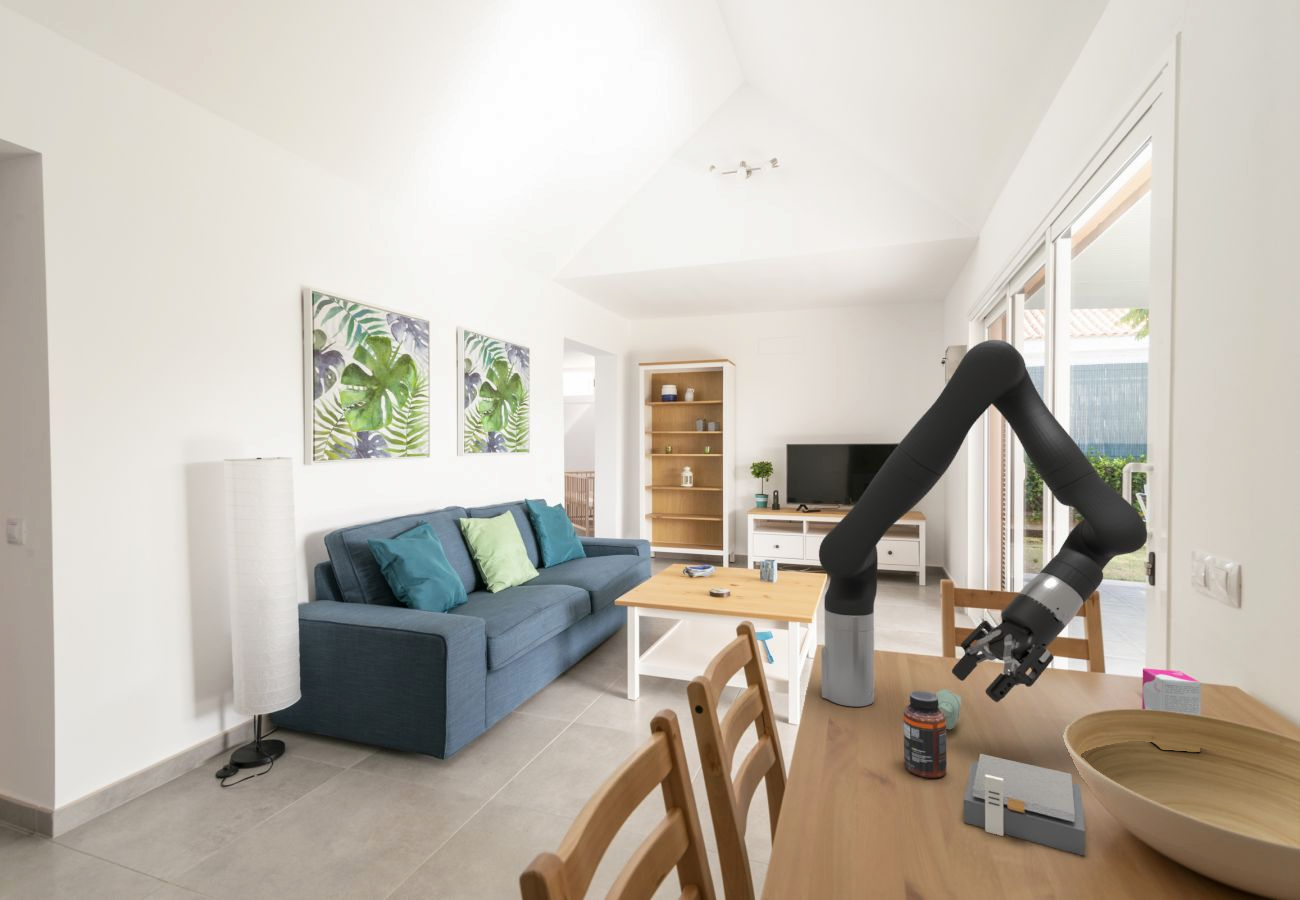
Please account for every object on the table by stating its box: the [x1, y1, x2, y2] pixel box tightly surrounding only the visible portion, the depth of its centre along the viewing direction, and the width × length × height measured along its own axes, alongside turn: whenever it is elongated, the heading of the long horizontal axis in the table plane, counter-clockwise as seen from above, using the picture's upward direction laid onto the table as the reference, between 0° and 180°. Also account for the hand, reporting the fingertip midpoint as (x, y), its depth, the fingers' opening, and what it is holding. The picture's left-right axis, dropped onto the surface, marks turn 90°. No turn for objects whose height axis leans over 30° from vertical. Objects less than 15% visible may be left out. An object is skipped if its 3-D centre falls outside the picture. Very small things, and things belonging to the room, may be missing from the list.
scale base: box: [963, 760, 1086, 857], centre depth 84 cm, size 13×13×7 cm
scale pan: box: [973, 753, 1075, 822], centre depth 83 cm, size 11×13×1 cm
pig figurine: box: [934, 688, 962, 730], centre depth 110 cm, size 8×4×7 cm, turn 139°
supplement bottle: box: [903, 690, 947, 779], centre depth 96 cm, size 6×6×11 cm
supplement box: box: [1141, 667, 1202, 717], centre depth 104 cm, size 6×6×12 cm
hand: (972, 686), depth 97 cm, fingers open, 8 cm apart
